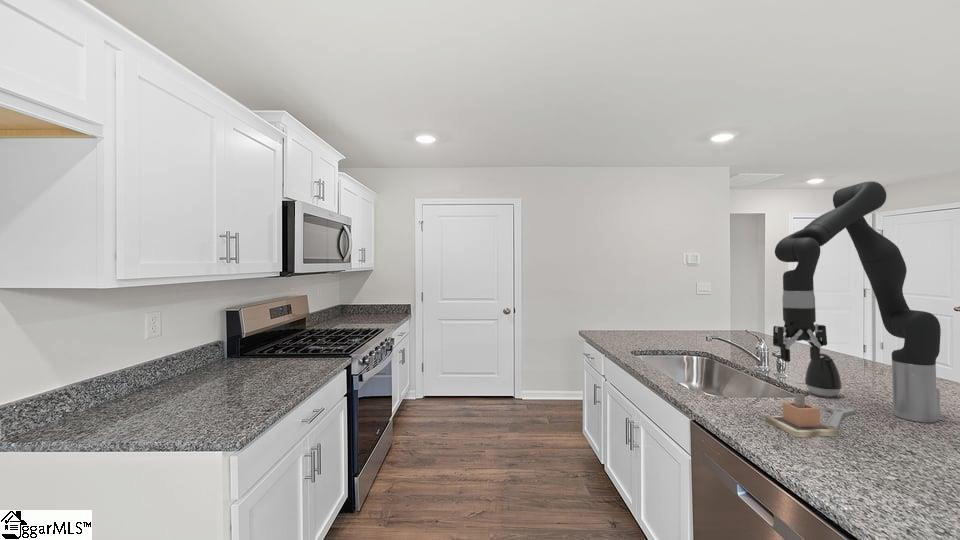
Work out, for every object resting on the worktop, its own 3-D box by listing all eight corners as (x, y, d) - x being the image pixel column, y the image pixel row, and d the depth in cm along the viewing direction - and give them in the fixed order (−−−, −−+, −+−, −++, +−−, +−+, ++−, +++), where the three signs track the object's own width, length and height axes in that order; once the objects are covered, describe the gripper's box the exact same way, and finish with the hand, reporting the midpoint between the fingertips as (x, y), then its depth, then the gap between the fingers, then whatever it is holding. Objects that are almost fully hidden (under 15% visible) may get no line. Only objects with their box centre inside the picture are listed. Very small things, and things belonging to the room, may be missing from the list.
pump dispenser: (815, 399, 141) (814, 356, 141) (799, 390, 151) (798, 350, 151) (849, 400, 139) (848, 357, 139) (830, 391, 149) (829, 350, 149)
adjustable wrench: (836, 435, 113) (836, 428, 113) (807, 428, 118) (807, 422, 118) (856, 413, 128) (856, 407, 128) (830, 408, 133) (830, 402, 133)
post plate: (803, 419, 123) (802, 387, 123) (838, 436, 111) (838, 400, 111) (765, 421, 123) (764, 388, 123) (796, 437, 111) (795, 401, 111)
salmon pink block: (802, 418, 120) (802, 401, 120) (819, 426, 114) (819, 408, 114) (783, 419, 120) (782, 402, 120) (799, 426, 114) (799, 409, 114)
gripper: (811, 303, 121) (813, 357, 121) (765, 305, 120) (767, 358, 120) (834, 306, 113) (835, 362, 113) (784, 307, 113) (786, 364, 113)
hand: (800, 360), depth 117 cm, fingers open, 8 cm apart
